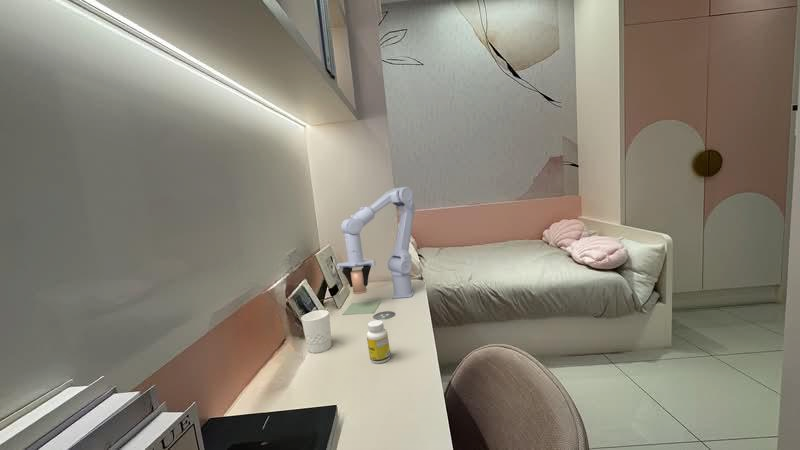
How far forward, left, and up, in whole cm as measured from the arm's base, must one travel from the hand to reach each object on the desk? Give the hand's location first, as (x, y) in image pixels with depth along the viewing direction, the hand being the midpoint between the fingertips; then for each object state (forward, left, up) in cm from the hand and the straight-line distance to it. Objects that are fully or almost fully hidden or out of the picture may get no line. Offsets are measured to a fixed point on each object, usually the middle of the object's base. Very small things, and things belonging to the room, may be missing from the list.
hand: (359, 285), depth 132 cm
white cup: (+32, -4, -9) cm, 34 cm away
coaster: (+9, +11, -9) cm, 16 cm away
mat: (0, 0, -9) cm, 9 cm away
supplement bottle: (+40, +16, -9) cm, 44 cm away
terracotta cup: (0, 0, -2) cm, 2 cm away
